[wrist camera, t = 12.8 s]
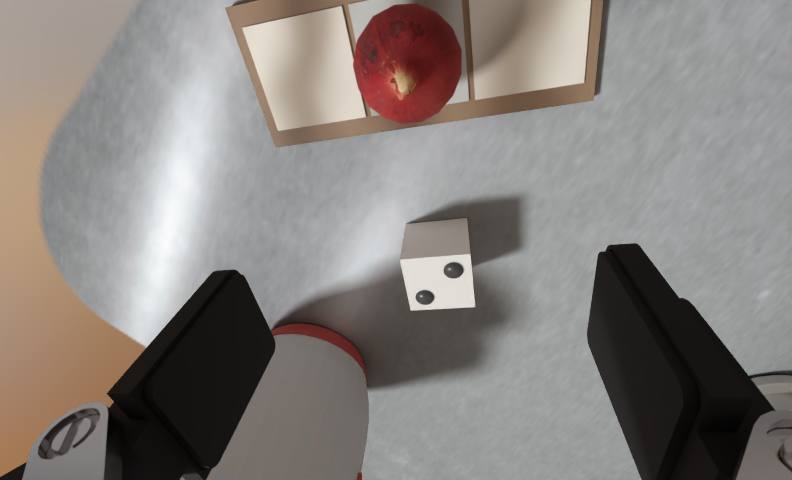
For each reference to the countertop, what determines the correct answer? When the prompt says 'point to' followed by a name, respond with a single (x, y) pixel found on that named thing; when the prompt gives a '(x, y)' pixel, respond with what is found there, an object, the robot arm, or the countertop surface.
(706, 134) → the countertop surface
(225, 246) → the countertop surface
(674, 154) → the countertop surface
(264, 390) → the citrus juicer
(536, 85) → the brown flat rectangular frame
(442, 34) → the onion
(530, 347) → the countertop surface
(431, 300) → the die
